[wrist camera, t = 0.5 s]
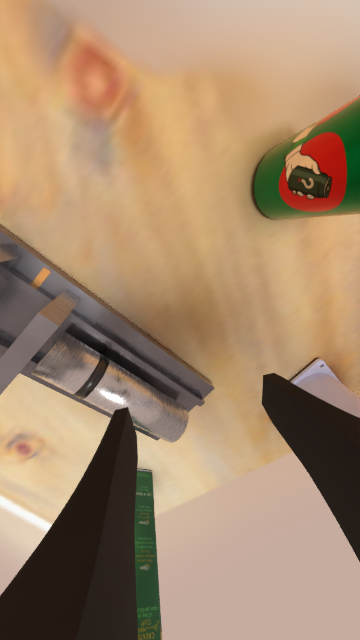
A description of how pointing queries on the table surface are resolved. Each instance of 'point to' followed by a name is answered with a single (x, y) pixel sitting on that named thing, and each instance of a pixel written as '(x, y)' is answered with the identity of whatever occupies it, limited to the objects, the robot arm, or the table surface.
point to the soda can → (314, 170)
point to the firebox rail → (77, 328)
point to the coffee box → (146, 560)
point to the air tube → (110, 387)
